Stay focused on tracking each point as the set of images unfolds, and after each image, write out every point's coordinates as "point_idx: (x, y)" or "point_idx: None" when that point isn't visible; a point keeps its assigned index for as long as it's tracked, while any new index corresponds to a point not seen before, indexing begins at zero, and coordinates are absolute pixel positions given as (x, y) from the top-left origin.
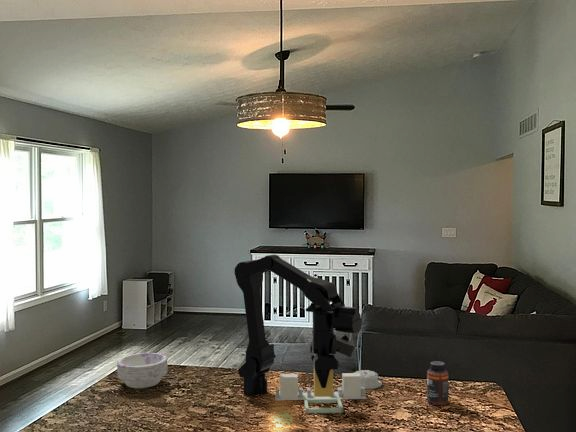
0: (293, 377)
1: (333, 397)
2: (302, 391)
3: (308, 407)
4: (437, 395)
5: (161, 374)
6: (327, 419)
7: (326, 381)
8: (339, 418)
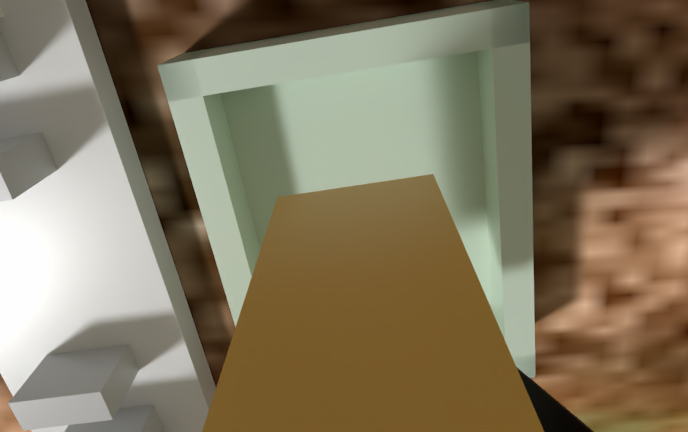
0: None
1: (56, 136)
2: None
3: None
4: None
5: None
6: (584, 161)
7: (574, 425)
8: (565, 42)
